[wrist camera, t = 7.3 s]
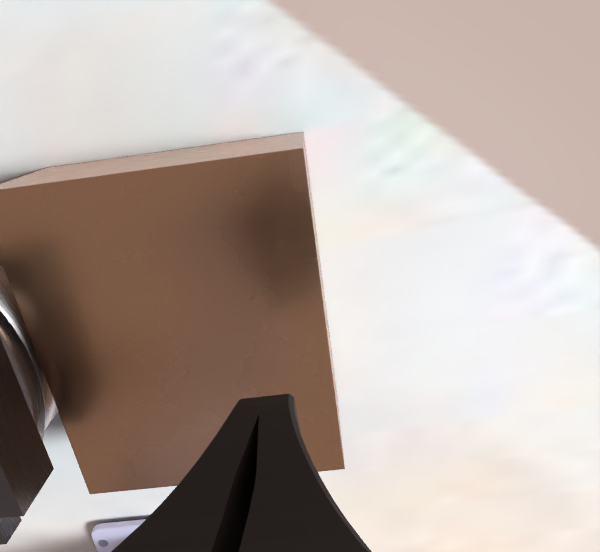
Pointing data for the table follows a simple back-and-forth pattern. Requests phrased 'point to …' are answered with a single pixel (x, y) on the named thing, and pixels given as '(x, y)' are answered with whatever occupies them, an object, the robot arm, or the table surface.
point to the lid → (20, 426)
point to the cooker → (169, 303)
